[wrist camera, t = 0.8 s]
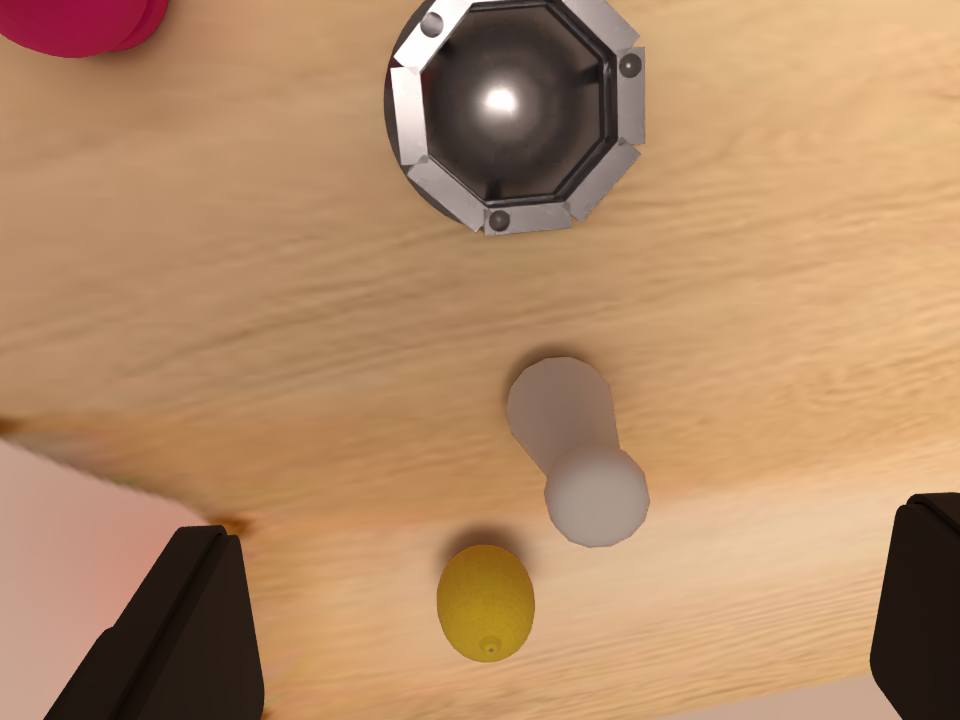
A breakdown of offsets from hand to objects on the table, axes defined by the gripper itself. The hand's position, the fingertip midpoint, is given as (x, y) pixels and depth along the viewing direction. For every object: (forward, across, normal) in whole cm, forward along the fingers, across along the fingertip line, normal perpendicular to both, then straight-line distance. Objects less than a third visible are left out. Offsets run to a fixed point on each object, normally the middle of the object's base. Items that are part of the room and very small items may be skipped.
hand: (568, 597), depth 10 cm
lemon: (+30, +1, +20) cm, 36 cm away
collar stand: (+30, -1, -6) cm, 30 cm away
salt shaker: (+30, -4, +9) cm, 32 cm away
